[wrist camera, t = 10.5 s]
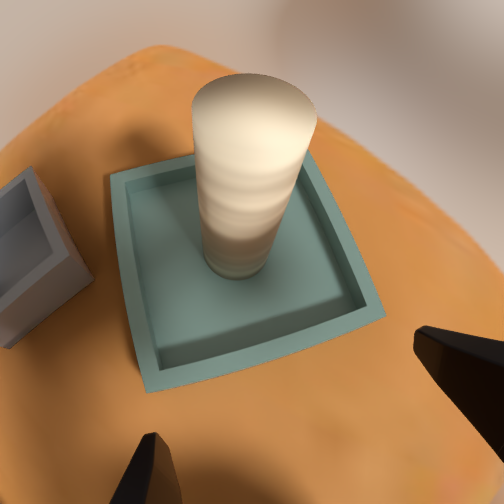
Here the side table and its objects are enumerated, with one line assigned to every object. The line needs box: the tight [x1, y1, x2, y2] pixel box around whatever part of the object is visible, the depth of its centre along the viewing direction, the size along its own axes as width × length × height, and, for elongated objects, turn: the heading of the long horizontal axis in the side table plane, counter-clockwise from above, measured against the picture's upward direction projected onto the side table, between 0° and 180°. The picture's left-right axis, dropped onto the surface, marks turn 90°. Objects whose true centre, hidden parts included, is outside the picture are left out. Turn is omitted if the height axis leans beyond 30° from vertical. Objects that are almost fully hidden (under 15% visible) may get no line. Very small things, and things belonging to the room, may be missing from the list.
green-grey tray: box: [110, 149, 386, 393], centre depth 19 cm, size 14×14×2 cm
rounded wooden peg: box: [192, 74, 317, 280], centre depth 14 cm, size 4×4×11 cm
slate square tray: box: [0, 166, 95, 349], centre depth 16 cm, size 9×9×4 cm
